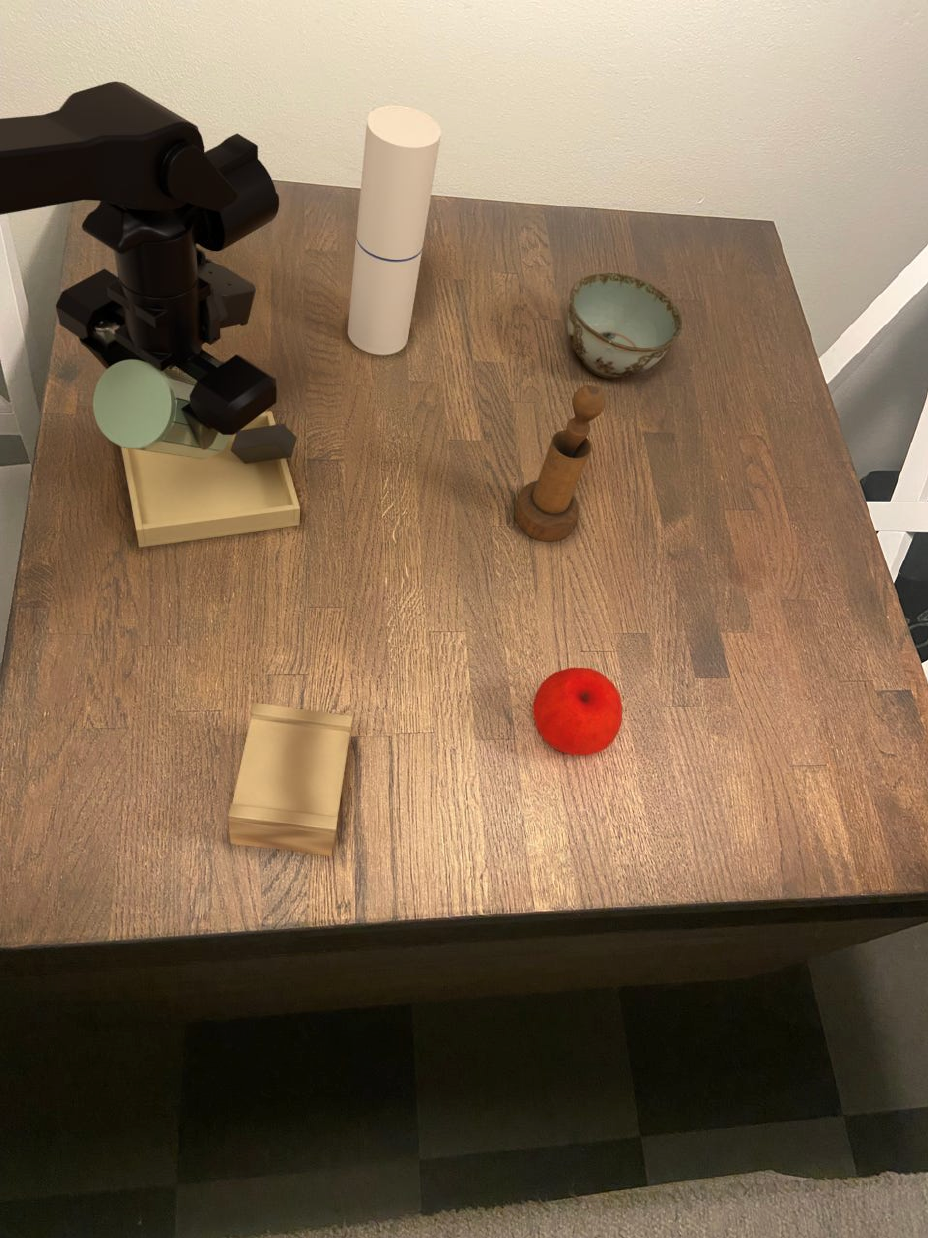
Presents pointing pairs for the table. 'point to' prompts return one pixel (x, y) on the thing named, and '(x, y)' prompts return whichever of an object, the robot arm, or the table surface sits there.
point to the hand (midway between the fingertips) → (175, 424)
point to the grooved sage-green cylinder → (148, 410)
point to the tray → (208, 494)
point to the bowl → (620, 324)
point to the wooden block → (290, 780)
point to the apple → (578, 711)
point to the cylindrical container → (391, 225)
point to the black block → (264, 443)
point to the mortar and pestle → (560, 474)
